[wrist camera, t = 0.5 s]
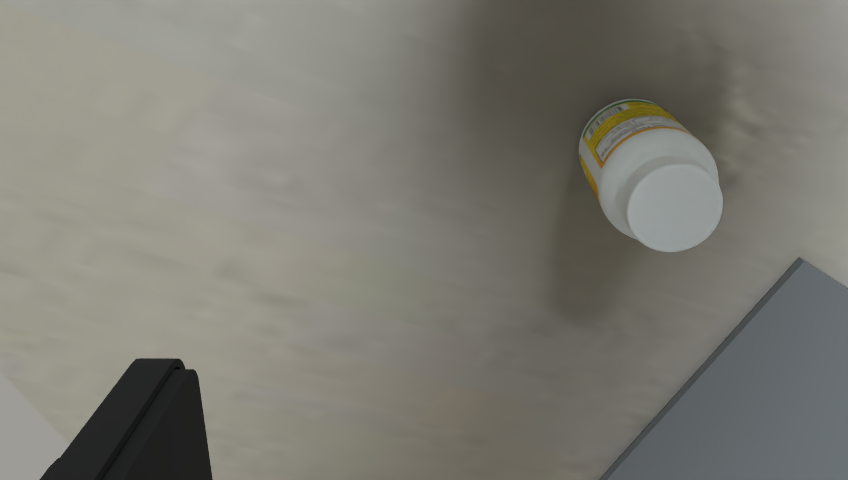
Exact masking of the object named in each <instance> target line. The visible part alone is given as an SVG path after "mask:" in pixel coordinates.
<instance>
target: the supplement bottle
mask: <svg viewBox="0 0 848 480" xmlns="http://www.w3.org/2000/svg"><path fill="white" fill-rule="evenodd" d="M579 160H580V164H581V167H582V169H583V172H584V174H585V176H586V178H587V180H588V182H589V184H590V186H591V188H592V190H593V192H594V194H595V196H596V198H597V200H598V202H599V204H600V207H601V209H602V210H603V212H604V214H605V216H606V217H607V219H608V220H609V221H610V222H611V224H612V225H613V226H614V227H615V228H616V229H618V230H619V231H620V232H622V233H623V234H625V235H627V236H629V237H631V238H634V239H637V240H639V241H640V242H641V243H642V244H644V245H645V246H647V247H649V248H651V249H654V250H657V251H661V252H679V251H683V250H687V249H690V248H693V247H695V246H696V245H698V244H700V243H701V242H703V241H704V240H705V239H706V238H707V237H709V236H710V235H711V233H712V232H713V231H714V229H715V228H716V226H717V225H718V223H719V221H720V218H721V215H722V211H723V196H722V192H721V189H720V187H719V176H718V170H717V166H716V163H715V161H714V159H713V157H712V155H711V153H710V152H709V150H708V149H707V148H706V147H705V146H704V144H703V143H701V142H700V141H699V140H698V139H697V138H696V137H695V136H694V135H692V134H691V133H690V132H689V131H688V130H687V129H686V128H685V127H684V126H683V125H681V124H680V123H679V122H678V121H677V120H676V119H675V118H674V117H673V116H671V115H670V114H669V113H668V112H667V111H666V110H665V109H663V108H662V107H661V106H659V105H657V104H656V103H653V102H651V101H647V100H643V99H624V100H620V101H617V102H613V103H611V104H609V105H607V106H605V107H604V108H602V109H601V110H600V111H598V112H597V113H596V114H595V115H594V116H593V117H592V118H591V119H590V120H589V122H588V123H587V124H586V126H585V128H584V130H583V132H582V135H581V138H580V142H579Z"/></svg>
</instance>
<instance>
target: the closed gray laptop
mask: <svg viewBox="0 0 848 480" xmlns="http://www.w3.org/2000/svg"><path fill="white" fill-rule="evenodd" d="M600 480H848V288H846V287H845V286H843V285H842V284H840V283H839V282H837V281H836V280H834V279H832V278H831V277H829V276H828V275H826V274H825V273H823V272H821V271H820V270H818V269H817V268H815V267H814V266H812V265H811V264H809V263H807V262H806V261H804V260H803V259H801V258H800V257H799V258H798V259H797V261H796V262H795V263H794V264H793V265H792V266H791V267H790V268H789V269H788V271H787V272H786V273H785V274H784V275H783V276H782V277H781V278H780V279H779V281H778V282H777V283H776V284H775V285H774V286H773V287H772V288H771V289H770V291H769V292H768V293H767V294H766V295H765V296H764V297H763V298H762V299H761V301H760V302H759V303H758V304H757V305H756V306H755V307H754V308H753V309H752V311H751V312H750V313H749V314H748V315H747V316H746V317H745V318H744V319H743V321H742V322H741V323H740V324H739V325H738V326H737V327H736V328H735V329H734V331H733V332H732V333H731V334H730V335H729V336H728V337H727V338H726V339H725V341H724V342H723V343H722V344H721V345H720V346H719V347H718V348H717V349H716V351H715V352H714V353H713V354H712V355H711V356H710V357H709V358H708V360H707V361H706V362H705V363H704V364H703V365H702V366H701V367H700V368H699V370H698V371H697V372H696V373H695V374H694V375H693V376H692V377H691V378H690V380H689V381H688V382H687V383H686V384H685V385H684V386H683V387H682V388H681V390H680V391H679V392H678V393H677V394H676V395H675V396H674V397H673V398H672V400H671V401H670V402H669V403H668V404H667V405H666V406H665V407H664V408H663V410H662V411H661V412H660V413H659V414H658V415H657V416H656V417H655V418H654V420H653V421H652V422H651V423H650V424H649V425H648V426H647V427H646V428H645V430H644V431H643V432H642V433H641V434H640V435H639V436H638V437H637V438H636V440H635V441H634V442H633V443H632V444H631V445H630V446H629V447H628V448H627V450H626V451H625V452H624V453H623V454H622V455H621V456H620V457H619V458H618V460H617V461H616V462H615V463H614V464H613V465H612V466H611V467H610V468H609V470H608V471H607V472H606V473H605V474H604V475H603V476H602V477H601V478H600Z"/></svg>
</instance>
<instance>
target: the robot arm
mask: <svg viewBox="0 0 848 480" xmlns="http://www.w3.org/2000/svg"><path fill="white" fill-rule="evenodd" d="M40 480H212V473H211V466H210V459H209V451H208V444H207V437H206V430H205V423H204V415H203V408H202V401H201V394H200V387H199V380H198V375H197V373H196V371H195V370H193V369H185V366H184V364H183V362H182V361H181V360H180V359H143V358H140V359H136V360H135V361H134V362H133V363H132V364H131V365H130V366H129V368H128V369H127V370H126V372H125V373H124V374H123V376H122V377H121V378H120V380H119V381H118V382H117V383H116V385H115V386H114V387H113V389H112V390H111V391H110V393H109V394H108V395H107V397H106V398H105V399H104V401H103V402H102V403H101V405H100V406H99V407H98V408H97V410H96V411H95V412H94V414H93V415H92V416H91V418H90V419H89V420H88V422H87V423H86V424H85V426H84V427H83V428H82V430H81V431H80V432H79V433H78V435H77V436H76V437H75V439H74V440H73V441H72V443H71V444H70V445H69V447H68V448H67V449H66V451H65V452H64V453H63V455H62V456H61V457H60V458H58V459H57V460H56V461H55V462H54V463H53V464H52V465H51V466H50V467H49V468H48V469H47V471H46V472H45V473H44V475H43V476H42V477H41V479H40Z"/></svg>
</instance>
